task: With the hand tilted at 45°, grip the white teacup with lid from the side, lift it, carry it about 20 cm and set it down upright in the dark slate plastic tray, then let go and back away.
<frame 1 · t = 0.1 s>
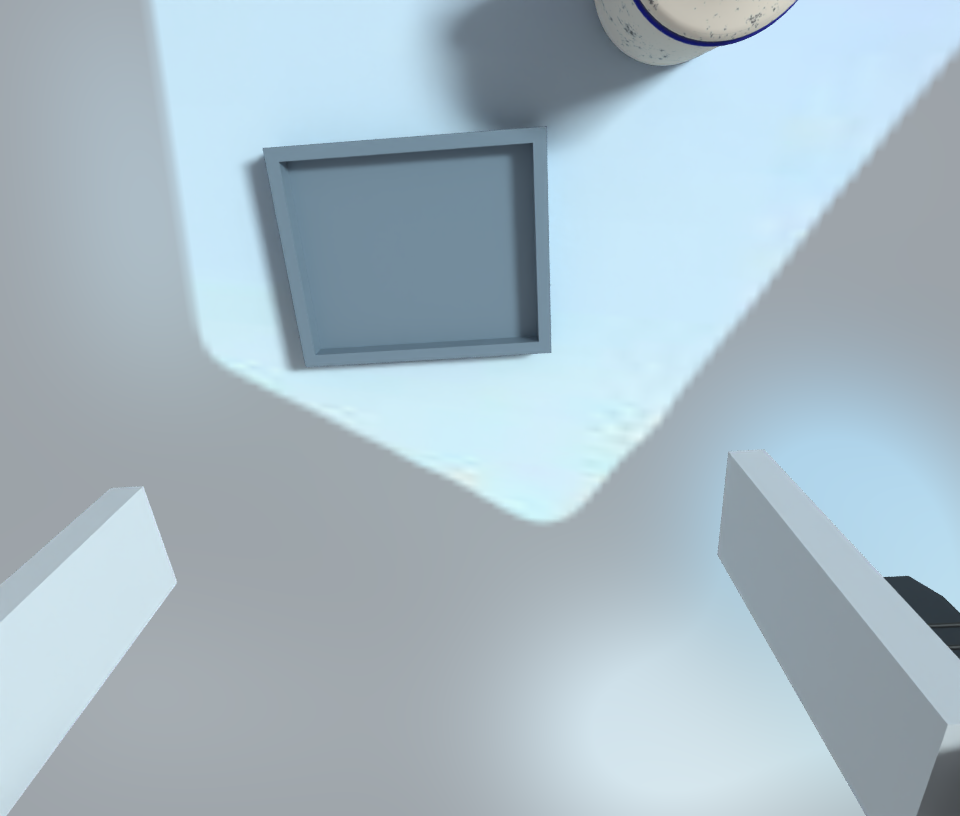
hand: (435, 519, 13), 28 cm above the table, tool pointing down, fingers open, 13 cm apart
slate tray: (419, 252, 38), on the table
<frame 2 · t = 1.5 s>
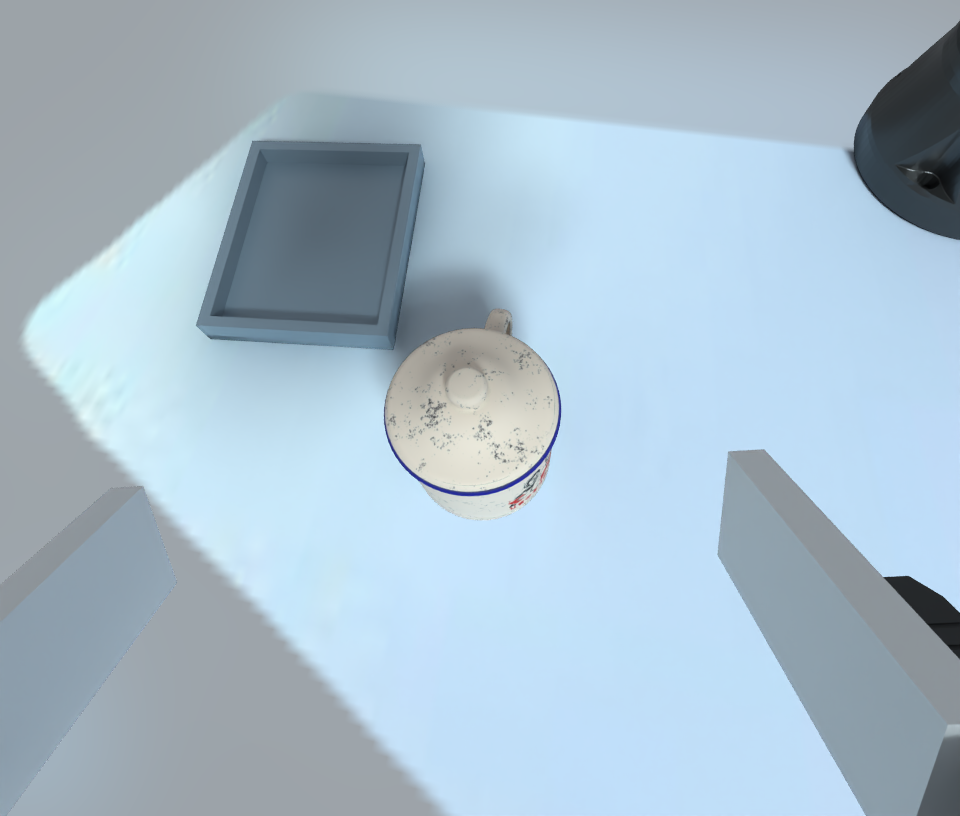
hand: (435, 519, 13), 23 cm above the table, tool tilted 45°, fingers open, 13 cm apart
slate tray: (322, 247, 45), on the table
teacup with lid: (487, 434, 38), on the table
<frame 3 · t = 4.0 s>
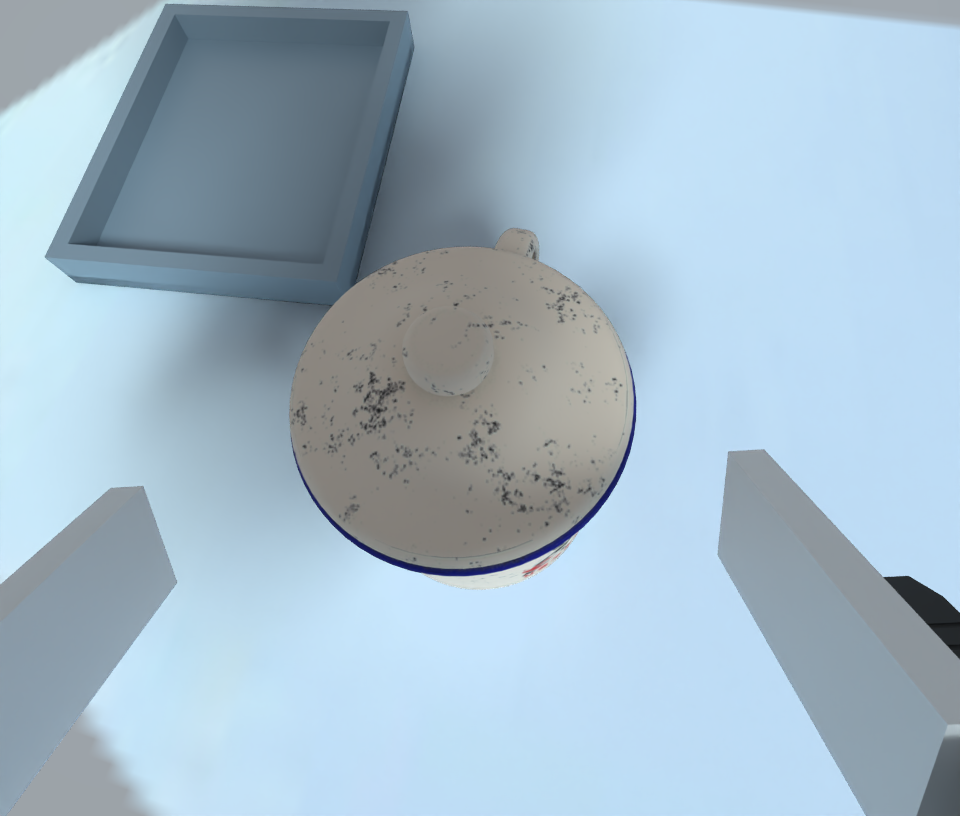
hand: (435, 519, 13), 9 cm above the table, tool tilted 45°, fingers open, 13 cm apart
slate tray: (257, 156, 30), on the table
teacup with lid: (490, 445, 24), on the table
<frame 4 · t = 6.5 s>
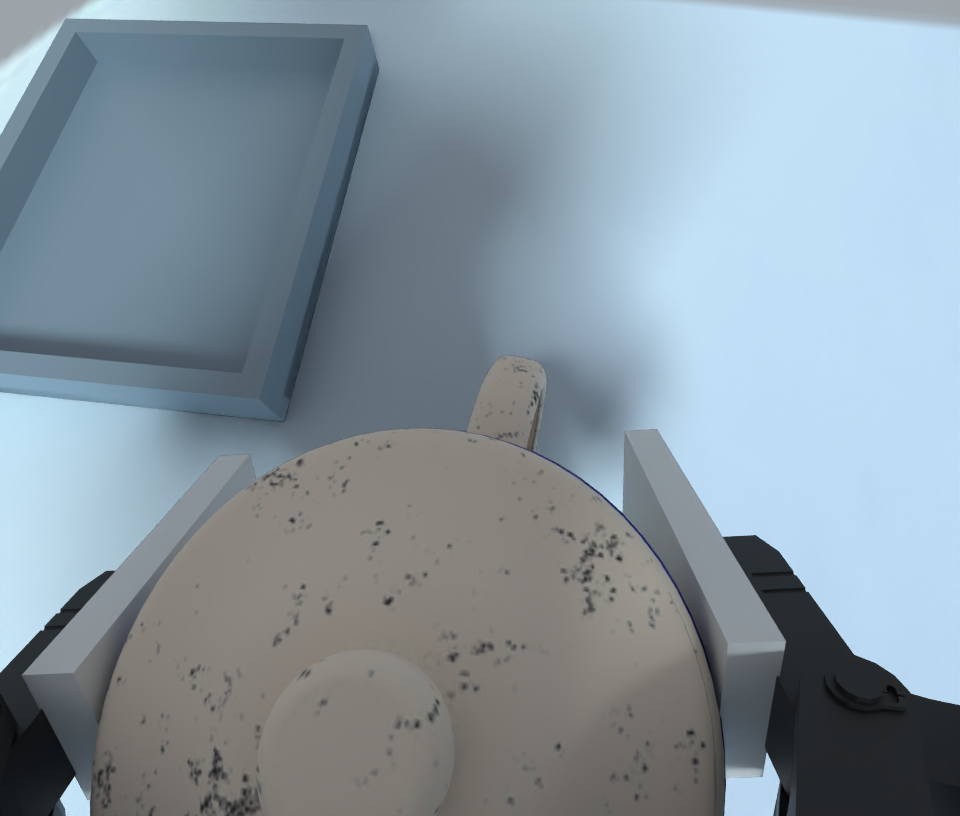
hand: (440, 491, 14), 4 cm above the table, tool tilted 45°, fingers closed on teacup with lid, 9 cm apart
slate tray: (175, 212, 23), on the table
teacup with lid: (476, 627, 17), on the table, touching gripper
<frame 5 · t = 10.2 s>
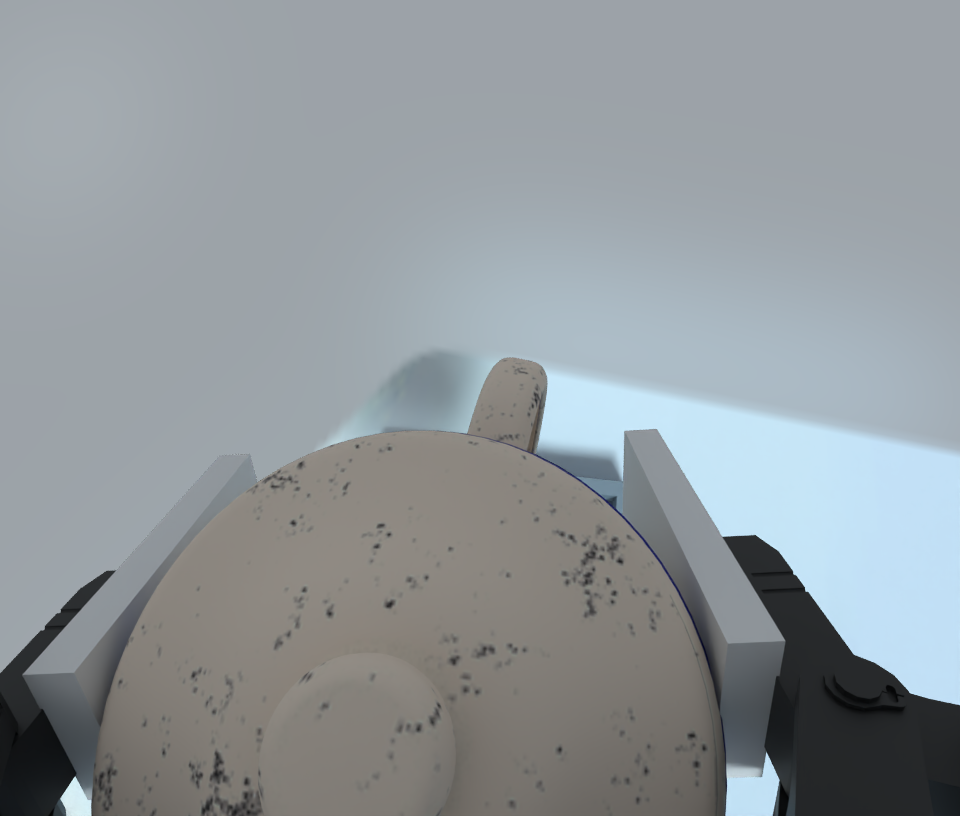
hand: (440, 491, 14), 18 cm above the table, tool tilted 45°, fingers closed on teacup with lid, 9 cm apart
slate tray: (487, 632, 30), on the table
teacup with lid: (476, 629, 17), point 14 cm above the table, touching gripper
when the fingers open (6 cm above the table, at t = 13.8 s): teacup with lid drops 2 cm, resting on slate tray.
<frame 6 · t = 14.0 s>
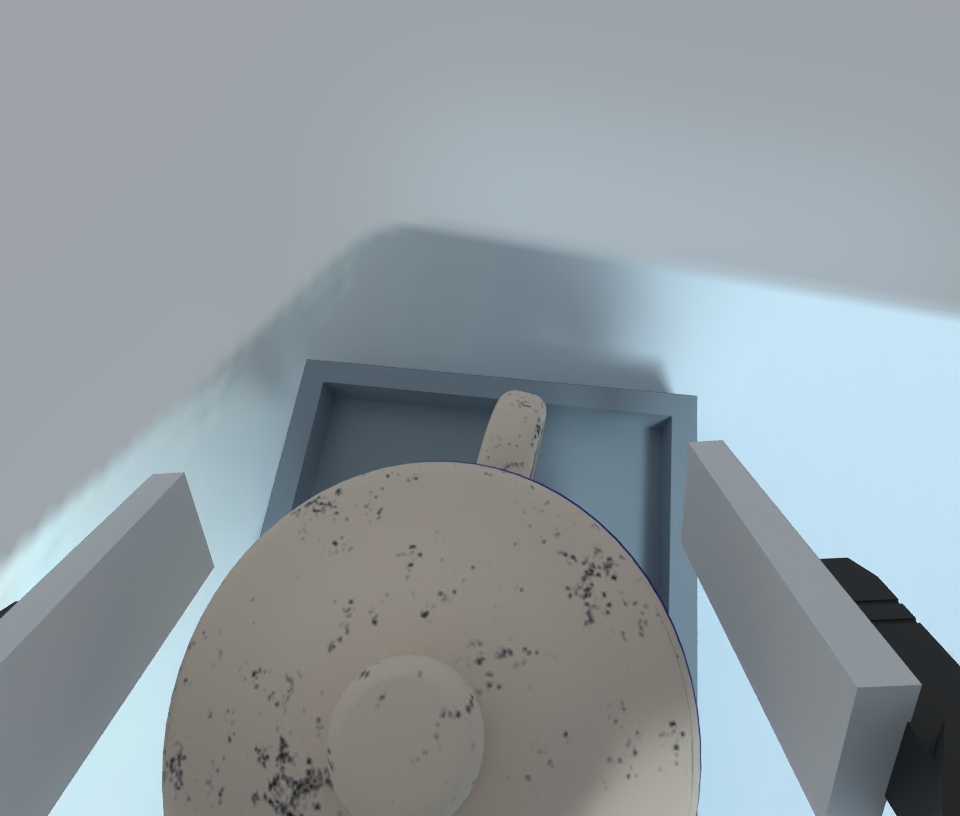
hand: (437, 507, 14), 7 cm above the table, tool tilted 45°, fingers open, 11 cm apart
slate tray: (466, 631, 19), on the table
teacup with lid: (476, 634, 19), resting on slate tray
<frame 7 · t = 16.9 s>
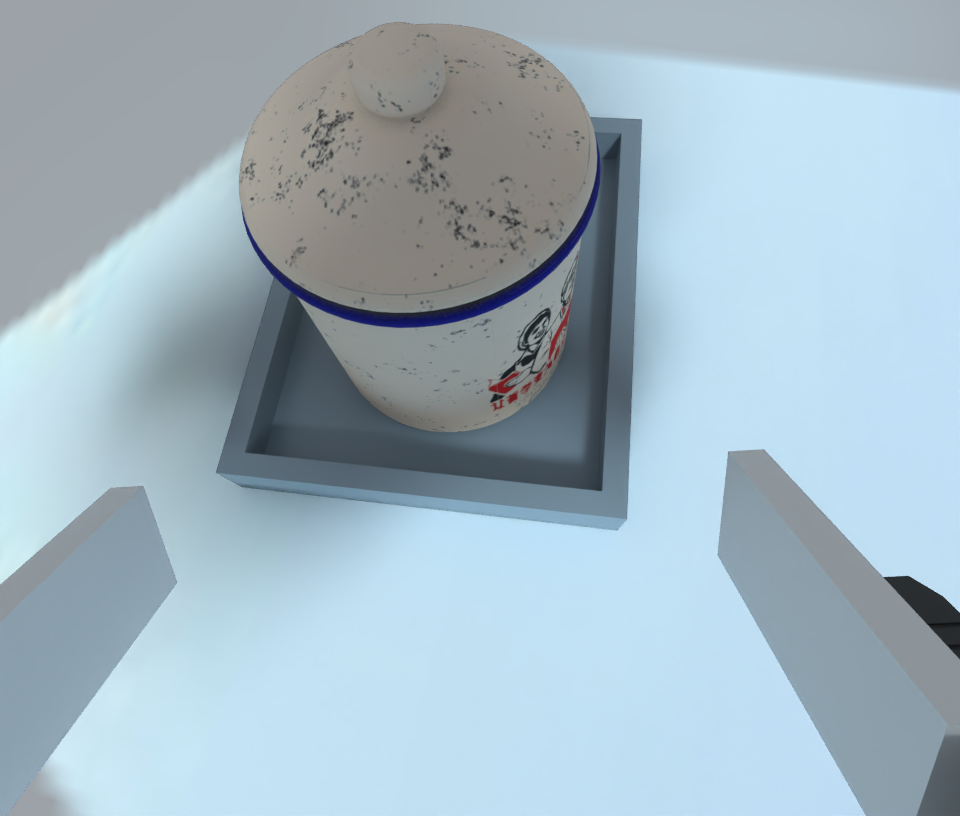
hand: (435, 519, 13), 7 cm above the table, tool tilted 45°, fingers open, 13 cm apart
slate tray: (456, 306, 24), on the table
teacup with lid: (464, 301, 23), resting on slate tray
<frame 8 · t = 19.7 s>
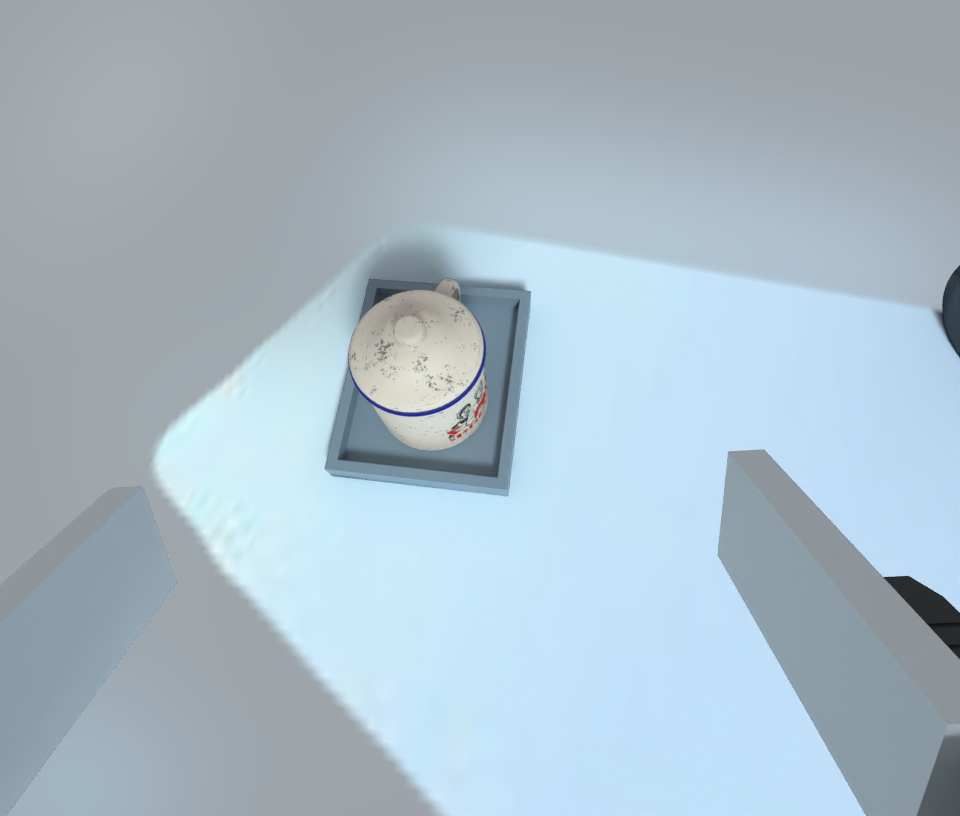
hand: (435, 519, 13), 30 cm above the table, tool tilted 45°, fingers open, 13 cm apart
slate tray: (436, 386, 47), on the table
teacup with lid: (439, 384, 47), resting on slate tray
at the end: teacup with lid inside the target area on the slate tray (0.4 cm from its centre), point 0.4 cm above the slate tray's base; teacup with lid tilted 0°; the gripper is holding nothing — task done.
